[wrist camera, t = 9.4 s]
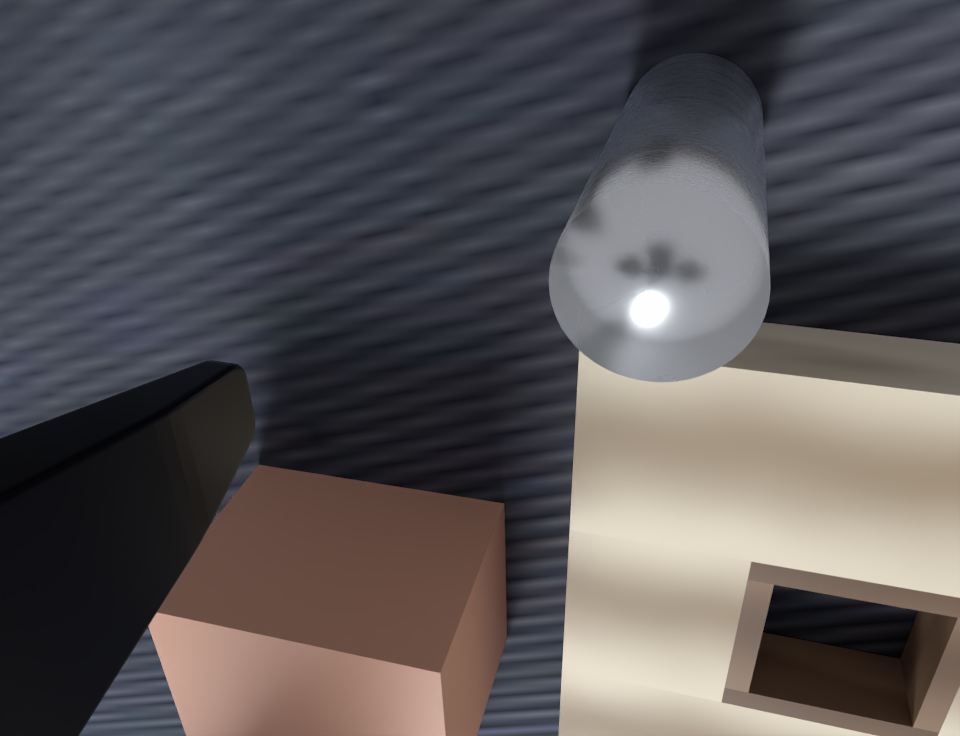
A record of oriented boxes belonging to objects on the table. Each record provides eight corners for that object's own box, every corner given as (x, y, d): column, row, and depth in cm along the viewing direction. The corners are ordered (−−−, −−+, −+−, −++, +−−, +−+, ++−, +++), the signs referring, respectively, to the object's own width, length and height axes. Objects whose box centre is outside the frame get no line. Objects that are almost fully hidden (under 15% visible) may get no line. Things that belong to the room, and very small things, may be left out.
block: (507, 635, 31) (452, 815, 25) (287, 592, 33) (190, 748, 27) (505, 501, 27) (440, 673, 22) (260, 462, 30) (142, 609, 24)
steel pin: (751, 194, 20) (752, 394, 13) (618, 184, 21) (546, 368, 13) (774, 55, 18) (789, 193, 11) (628, 50, 19) (551, 176, 12)
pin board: (1032, 824, 28) (1053, 899, 26) (568, 718, 32) (556, 777, 30) (1294, 380, 19) (1360, 444, 17) (594, 304, 23) (579, 349, 21)
